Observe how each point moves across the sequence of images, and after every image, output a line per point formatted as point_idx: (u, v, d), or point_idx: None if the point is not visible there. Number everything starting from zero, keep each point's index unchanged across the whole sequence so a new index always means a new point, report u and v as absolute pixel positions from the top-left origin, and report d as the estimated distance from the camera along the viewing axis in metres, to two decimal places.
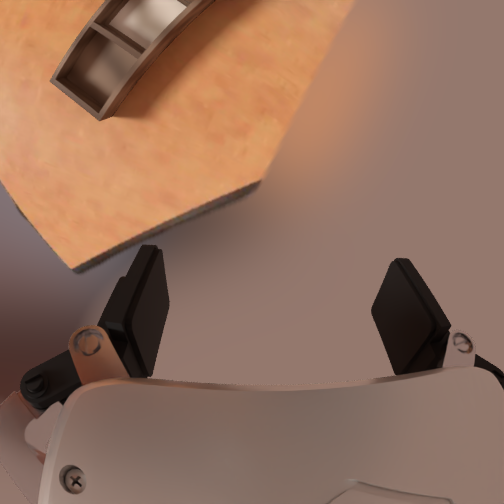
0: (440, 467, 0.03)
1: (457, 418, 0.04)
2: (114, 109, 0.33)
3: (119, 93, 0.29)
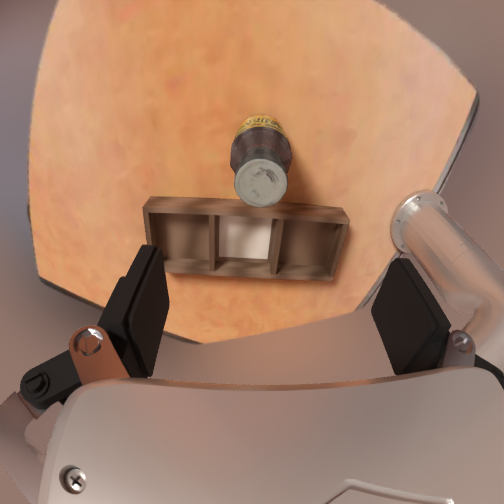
0: (440, 467, 0.03)
1: (457, 418, 0.04)
2: None
3: None
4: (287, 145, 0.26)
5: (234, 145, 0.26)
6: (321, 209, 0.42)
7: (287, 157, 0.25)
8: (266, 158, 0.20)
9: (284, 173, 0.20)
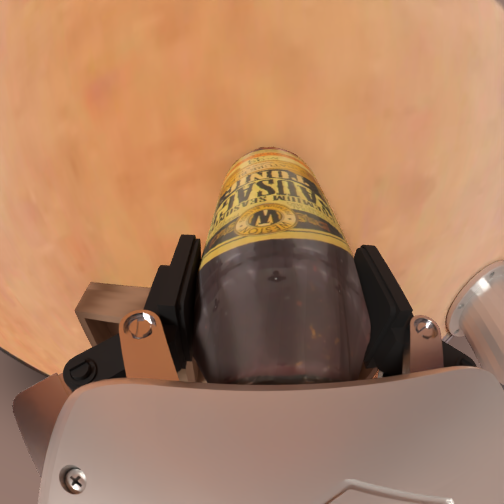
0: (440, 467, 0.03)
1: (457, 418, 0.04)
2: None
3: None
4: (360, 292, 0.09)
5: (201, 293, 0.09)
6: None
7: (363, 346, 0.08)
8: None
9: None
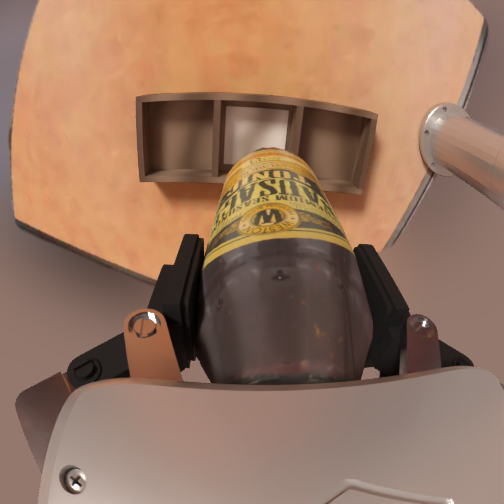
0: (440, 467, 0.03)
1: (457, 418, 0.04)
2: None
3: None
4: (362, 291, 0.09)
5: (204, 293, 0.09)
6: (344, 106, 0.32)
7: (366, 346, 0.08)
8: None
9: None
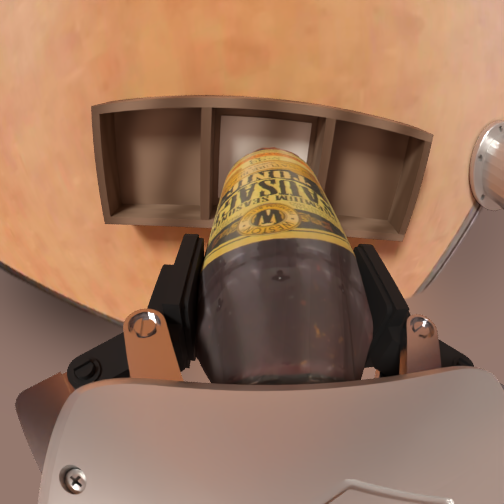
0: (440, 467, 0.03)
1: (457, 418, 0.04)
2: None
3: None
4: (362, 292, 0.09)
5: (204, 293, 0.09)
6: (387, 119, 0.22)
7: (366, 346, 0.08)
8: None
9: None
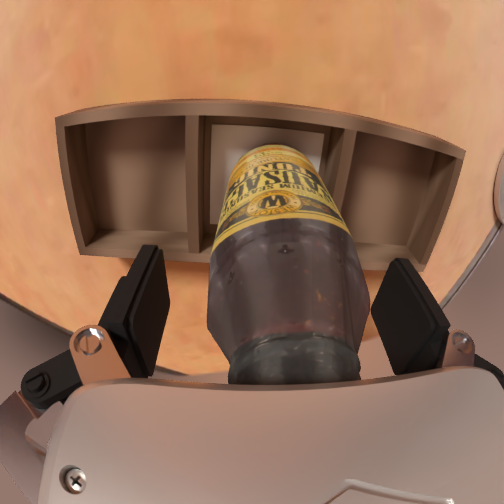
0: (440, 467, 0.03)
1: (457, 418, 0.04)
2: None
3: None
4: (359, 268, 0.10)
5: (215, 269, 0.10)
6: (413, 130, 0.18)
7: (363, 316, 0.09)
8: None
9: None
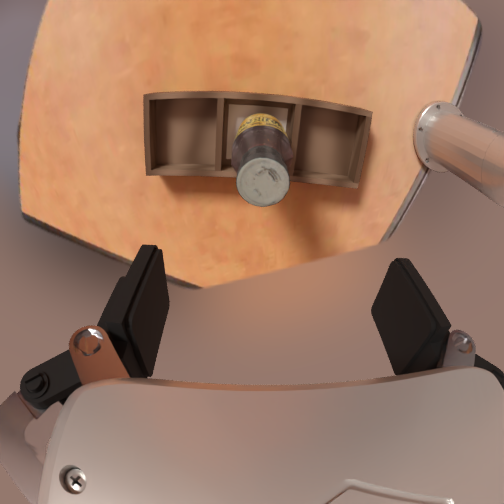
0: (440, 467, 0.03)
1: (457, 418, 0.04)
2: None
3: None
4: (288, 144, 0.26)
5: (235, 144, 0.26)
6: (340, 104, 0.34)
7: (288, 156, 0.25)
8: (268, 157, 0.20)
9: (286, 172, 0.20)
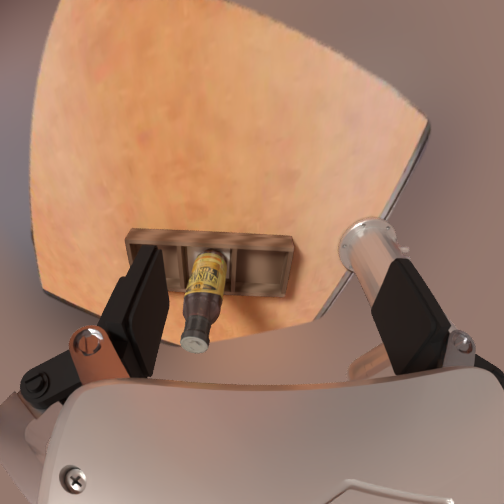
0: (440, 467, 0.03)
1: (457, 418, 0.04)
2: None
3: None
4: (216, 302, 0.43)
5: (184, 301, 0.43)
6: (271, 238, 0.51)
7: (215, 313, 0.42)
8: (194, 335, 0.37)
9: (205, 342, 0.37)
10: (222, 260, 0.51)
